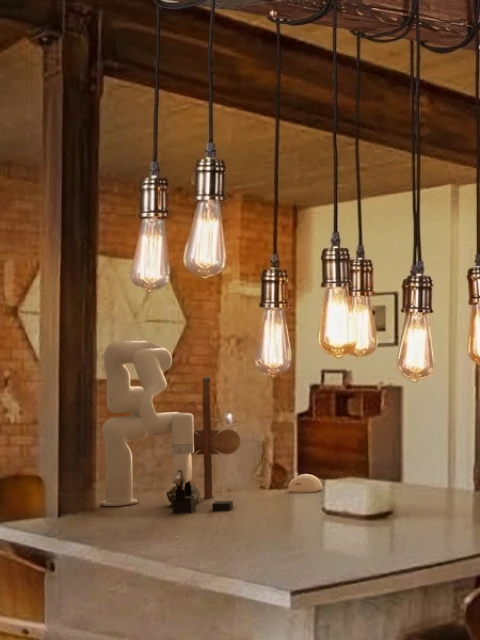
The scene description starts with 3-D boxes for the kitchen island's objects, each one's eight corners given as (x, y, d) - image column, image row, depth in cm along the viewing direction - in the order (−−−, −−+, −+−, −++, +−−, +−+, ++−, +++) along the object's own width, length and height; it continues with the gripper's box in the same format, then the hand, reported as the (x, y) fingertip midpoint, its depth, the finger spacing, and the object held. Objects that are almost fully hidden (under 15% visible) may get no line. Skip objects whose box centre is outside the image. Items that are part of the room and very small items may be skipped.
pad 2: (215, 508, 378) (215, 501, 379) (232, 507, 378) (232, 500, 379) (212, 511, 372) (212, 503, 373) (229, 510, 372) (229, 503, 373)
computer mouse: (292, 489, 421) (292, 473, 422) (324, 489, 418) (323, 473, 418) (286, 491, 415) (286, 475, 416) (318, 491, 412) (318, 475, 412)
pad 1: (177, 503, 377) (177, 496, 377) (194, 502, 377) (194, 495, 377) (173, 505, 371) (173, 498, 371) (191, 505, 371) (190, 497, 371)
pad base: (176, 510, 377) (176, 503, 377) (195, 510, 377) (195, 502, 377) (172, 513, 371) (172, 506, 371) (191, 512, 370) (191, 505, 371)
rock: (200, 499, 384) (181, 478, 385) (179, 518, 383) (160, 497, 383) (206, 493, 402) (188, 473, 403) (186, 511, 401) (168, 491, 402)
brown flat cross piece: (242, 496, 406) (239, 375, 410) (239, 498, 402) (236, 376, 407) (178, 497, 410) (176, 377, 414) (174, 498, 406) (172, 378, 411)
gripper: (177, 447, 384) (178, 496, 383) (166, 452, 367) (167, 503, 366) (198, 446, 384) (199, 495, 383) (188, 451, 367) (189, 502, 365)
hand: (183, 499), depth 374 cm, fingers open, 9 cm apart
